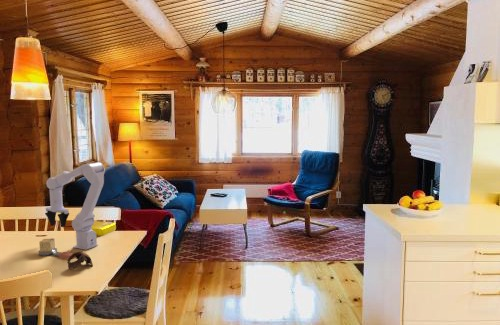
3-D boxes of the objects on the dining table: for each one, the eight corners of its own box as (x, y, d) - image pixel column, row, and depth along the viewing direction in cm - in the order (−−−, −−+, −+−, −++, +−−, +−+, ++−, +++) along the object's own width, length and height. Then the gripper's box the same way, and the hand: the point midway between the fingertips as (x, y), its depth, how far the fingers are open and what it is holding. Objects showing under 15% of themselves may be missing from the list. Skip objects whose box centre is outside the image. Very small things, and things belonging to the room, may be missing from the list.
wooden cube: (55, 248, 198) (54, 238, 198) (50, 251, 193) (50, 241, 193) (44, 248, 198) (43, 238, 197) (40, 252, 193) (39, 242, 192)
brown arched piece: (95, 269, 176) (85, 256, 171) (75, 281, 173) (64, 268, 169) (92, 254, 186) (83, 242, 181) (73, 265, 183) (63, 253, 179)
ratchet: (80, 255, 192) (80, 246, 191) (66, 261, 185) (66, 251, 184) (49, 249, 201) (48, 240, 200) (34, 254, 194) (34, 245, 193)
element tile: (95, 227, 241) (95, 220, 241) (117, 229, 237) (117, 221, 237) (78, 235, 227) (78, 226, 227) (101, 237, 223) (100, 228, 222)
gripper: (72, 199, 209) (74, 225, 210) (53, 197, 215) (54, 222, 216) (61, 202, 202) (62, 229, 204) (41, 200, 208) (43, 225, 210)
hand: (58, 225), depth 210 cm, fingers open, 7 cm apart
